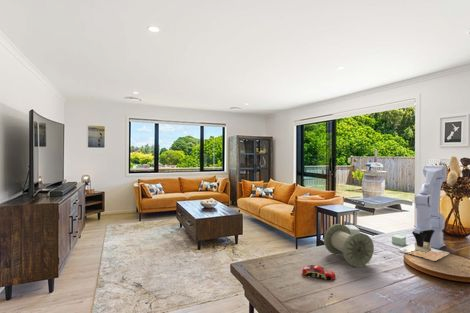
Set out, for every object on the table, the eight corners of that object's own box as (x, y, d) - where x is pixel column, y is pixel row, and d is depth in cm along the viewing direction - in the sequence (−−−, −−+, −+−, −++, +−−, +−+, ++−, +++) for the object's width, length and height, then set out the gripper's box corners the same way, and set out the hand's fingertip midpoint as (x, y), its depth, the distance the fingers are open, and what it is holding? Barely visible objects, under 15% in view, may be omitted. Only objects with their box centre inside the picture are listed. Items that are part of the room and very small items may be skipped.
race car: (336, 276, 110) (336, 267, 110) (335, 282, 105) (335, 272, 105) (303, 270, 116) (303, 261, 116) (301, 276, 111) (301, 266, 111)
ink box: (343, 246, 145) (343, 224, 145) (353, 246, 145) (353, 224, 145) (350, 252, 136) (350, 229, 136) (360, 251, 136) (360, 229, 136)
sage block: (396, 241, 151) (396, 234, 151) (406, 244, 147) (406, 236, 147) (391, 243, 149) (391, 236, 149) (401, 245, 145) (401, 238, 144)
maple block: (419, 248, 137) (419, 240, 137) (430, 251, 133) (430, 243, 133) (415, 250, 134) (415, 242, 134) (426, 253, 130) (426, 245, 130)
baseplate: (413, 245, 145) (413, 242, 145) (449, 254, 131) (449, 251, 131) (398, 251, 136) (398, 249, 136) (435, 262, 122) (435, 259, 122)
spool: (324, 254, 133) (323, 225, 133) (349, 251, 137) (349, 222, 137) (345, 268, 117) (345, 234, 117) (373, 264, 121) (373, 232, 121)
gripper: (420, 214, 141) (421, 240, 141) (407, 218, 133) (408, 245, 133) (436, 217, 135) (436, 243, 135) (423, 221, 127) (424, 249, 127)
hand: (423, 245), depth 133 cm, fingers open, 7 cm apart
